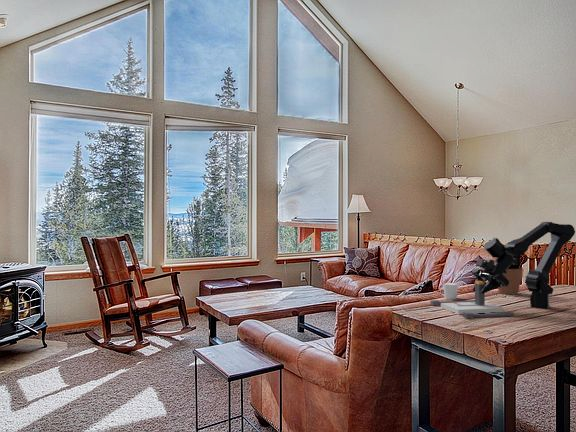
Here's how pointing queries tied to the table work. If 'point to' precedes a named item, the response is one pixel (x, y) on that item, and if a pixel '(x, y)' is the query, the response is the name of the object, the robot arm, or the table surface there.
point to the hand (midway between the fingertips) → (477, 291)
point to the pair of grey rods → (471, 315)
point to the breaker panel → (471, 307)
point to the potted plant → (512, 278)
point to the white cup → (450, 290)
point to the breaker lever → (479, 293)
